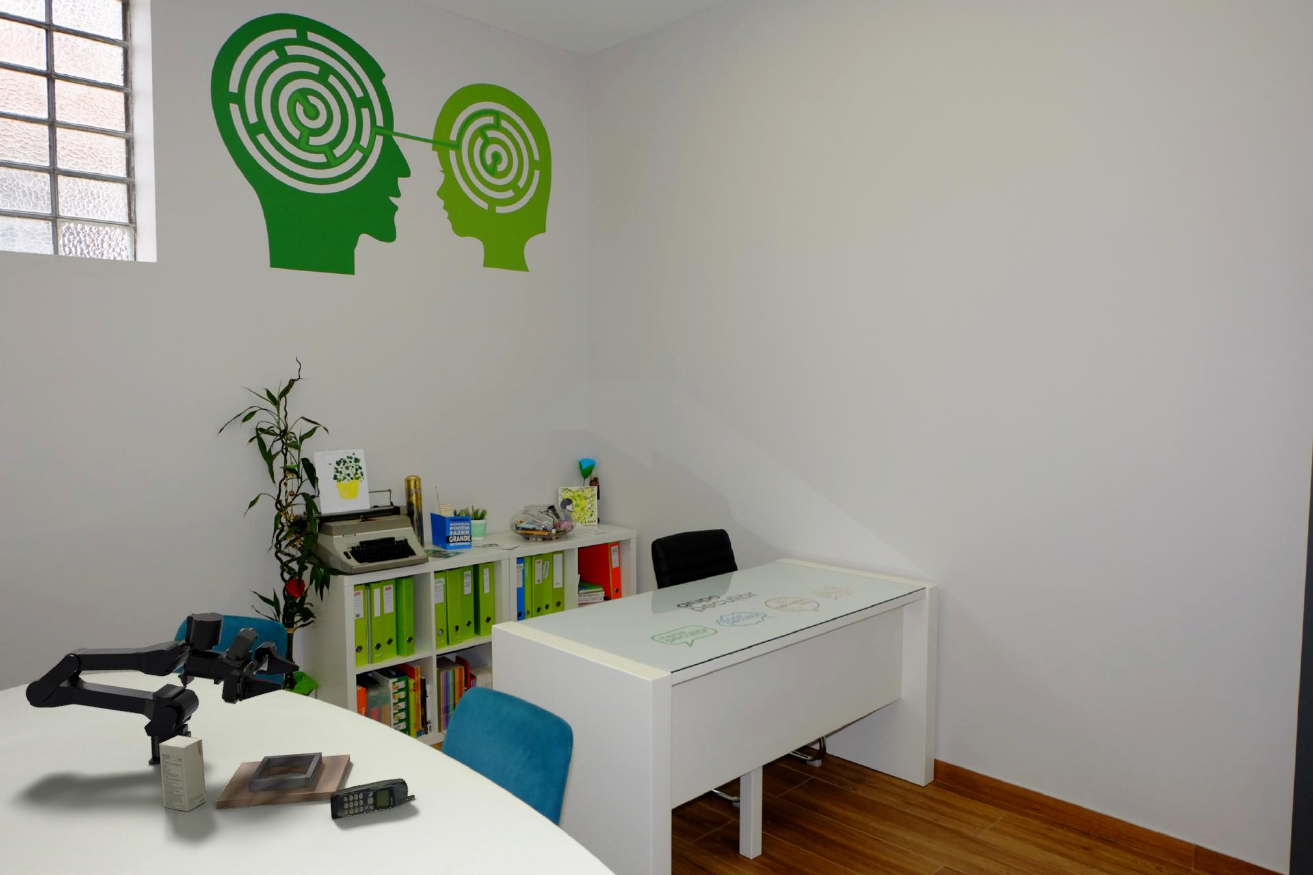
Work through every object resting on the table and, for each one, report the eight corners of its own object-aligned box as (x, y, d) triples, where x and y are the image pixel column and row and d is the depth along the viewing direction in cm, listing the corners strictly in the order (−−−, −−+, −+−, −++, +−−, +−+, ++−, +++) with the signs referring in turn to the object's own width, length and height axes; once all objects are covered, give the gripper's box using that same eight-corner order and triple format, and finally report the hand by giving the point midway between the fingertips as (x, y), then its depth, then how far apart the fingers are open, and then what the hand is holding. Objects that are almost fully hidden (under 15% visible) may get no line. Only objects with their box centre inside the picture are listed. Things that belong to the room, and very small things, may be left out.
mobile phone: (330, 796, 155) (415, 777, 161) (328, 789, 157) (412, 770, 164) (331, 823, 155) (416, 803, 161) (330, 815, 158) (413, 795, 164)
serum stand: (216, 808, 159) (215, 790, 159) (242, 769, 175) (241, 752, 175) (335, 798, 163) (335, 781, 163) (350, 761, 179) (349, 744, 178)
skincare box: (207, 801, 162) (204, 738, 161) (187, 812, 158) (185, 748, 157) (181, 795, 164) (178, 733, 163) (161, 806, 160) (158, 743, 159)
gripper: (197, 645, 169) (277, 658, 170) (240, 614, 188) (312, 625, 189) (191, 698, 171) (270, 711, 172) (234, 662, 189) (305, 673, 190)
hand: (290, 677), depth 181 cm, fingers open, 9 cm apart
